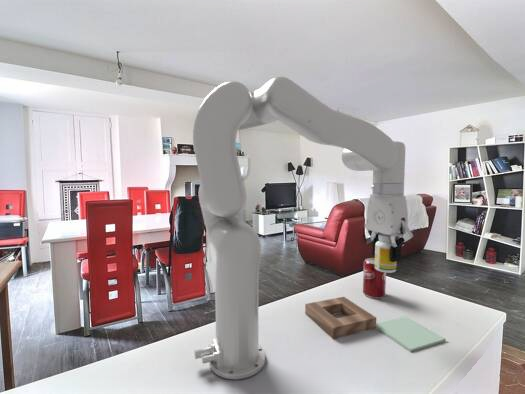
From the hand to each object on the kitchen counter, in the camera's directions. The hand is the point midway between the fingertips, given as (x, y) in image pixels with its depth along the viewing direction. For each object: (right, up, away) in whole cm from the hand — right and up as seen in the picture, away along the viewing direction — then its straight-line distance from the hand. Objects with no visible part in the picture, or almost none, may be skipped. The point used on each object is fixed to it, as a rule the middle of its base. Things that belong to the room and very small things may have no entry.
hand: (385, 257), depth 75 cm
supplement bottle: (0, -4, 0) cm, 4 cm away
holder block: (-11, -19, +6) cm, 23 cm away
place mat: (+5, -20, -1) cm, 21 cm away
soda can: (+6, -18, +23) cm, 30 cm away
